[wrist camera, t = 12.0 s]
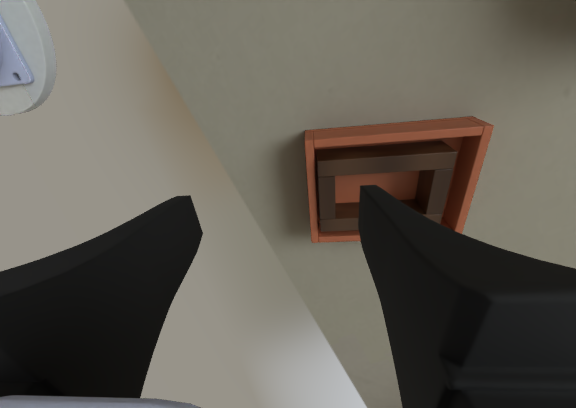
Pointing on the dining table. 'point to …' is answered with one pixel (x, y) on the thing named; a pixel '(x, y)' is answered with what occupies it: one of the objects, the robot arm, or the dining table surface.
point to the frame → (383, 159)
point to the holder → (402, 185)
